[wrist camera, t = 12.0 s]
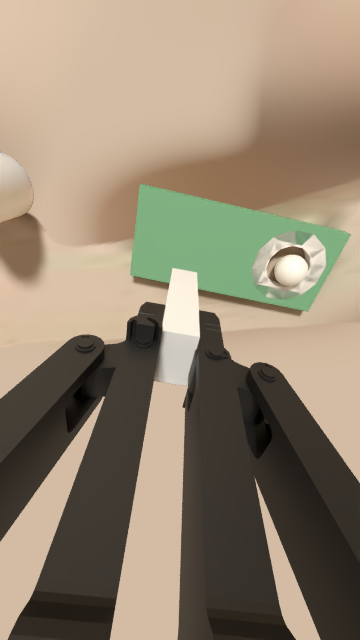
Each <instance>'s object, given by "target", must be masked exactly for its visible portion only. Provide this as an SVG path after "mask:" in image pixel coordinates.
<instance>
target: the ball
mask: <svg viewBox="0 0 360 640" xmlns="http://www.w3.org/2000/svg"><path fill="white" fill-rule="evenodd" d="M307 273H308V265H307V263H306V261H305V260H304V259H303V258H302V257H300V256H298V255H287V256H284V257H282V258H281V259H280V260H279V261H278V262H277V263H276V265H275V268H274V274H275V278H276V279H277V281H278V282H279V283H281V284H283V285H285V286H294V285H297V284H299V283H301V282H302V281H303V280H304V279H305V278H306V276H307Z"/></svg>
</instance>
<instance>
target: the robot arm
mask: <svg viewBox="0 0 360 640" xmlns="http://www.w3.org/2000/svg"><path fill="white" fill-rule="evenodd" d="M154 381H158V382H164V383H170V384H177V385H183V386H186V385H187V382H188V389H187V393H186V397H185V400H184V403H183V408H185V436H184V469H183V502H182V534H181V569H180V600H179V629H178V640H296V639H295V638H294V636H293V635H292V633H291V632H290V630H289V629H288V628H287V626H286V624H285V622H284V619H283V617H282V613H281V609H280V606H279V600H278V596H277V591H276V585H275V580H274V575H273V570H272V565H271V559H270V554H269V550H268V544H267V539H266V534H265V529H264V524H263V519H262V513H261V508H260V503H259V498H258V493H257V488H256V483H255V479H256V481H257V484H258V486H259V488H260V491H261V493H262V496H263V498H264V501H265V503H266V506H267V508H268V510H269V513H270V516H271V518H272V520H273V523H274V525H275V528H276V530H277V533H278V535H279V538H280V540H281V543H282V545H283V548H284V550H285V553H286V555H287V558H288V560H289V563H290V565H291V567H292V570H293V572H294V574H295V577H296V580H297V582H298V585H299V587H300V589H301V592H302V595H303V597H304V600H305V602H306V604H307V607H308V609H309V612H310V614H311V617H312V619H313V622H314V624H315V627H316V629H317V632H318V634H319V637H320V639H321V640H360V483H359V482H358V480H357V479H356V477H355V476H354V475H353V473H352V472H351V470H350V469H349V467H348V466H347V465H346V463H345V462H344V460H343V459H342V457H341V456H340V455H339V453H338V452H337V450H336V449H335V448H334V447H333V445H332V443H331V442H330V441H329V439H328V438H327V436H326V435H325V434H324V432H323V431H322V429H321V428H320V426H319V425H318V424H317V422H316V421H315V419H314V418H313V417H312V416H311V414H310V413H309V411H308V410H307V408H306V407H305V405H304V404H303V403H302V401H301V400H300V398H299V397H298V395H297V394H296V393H295V391H294V390H293V389H292V387H291V386H290V384H289V383H288V381H287V380H286V379H285V377H284V376H283V374H282V373H281V372H280V371H279V370H278V369H276V368H275V367H273V366H271V365H269V364H267V363H261V362H258V363H254V364H253V365H252V366H251V367H250V368H248V367H245V366H242V365H240V364H238V363H236V362H234V361H233V360H231V356H230V354H229V352H228V351H227V350H226V349H225V348H224V345H223V339H222V333H221V327H220V321H219V318H218V317H217V316H216V315H215V313H211V312H206V311H200V310H199V305H198V282H197V272H192V271H187V270H181V269H176V268H172V274H171V279H170V285H169V290H168V296H167V301H166V305H162V304H156V303H151V302H146V303H144V304H143V305H142V306H141V307H140V310H139V313H138V316H134V317H132V318H130V319H129V321H128V322H127V335H126V340H125V341H124V342H121V343H118V344H107V345H104V342H103V341H102V339H101V338H99V337H97V336H94V335H79V336H76V337H74V338H72V339H70V340H69V341H68V342H66V343H65V344H64V345H63V346H62V347H61V348H60V349H58V350H57V351H56V352H55V353H54V354H52V355H51V356H50V357H49V358H48V359H47V360H46V361H44V362H43V363H42V364H41V365H40V366H38V367H37V368H36V369H35V370H34V371H33V372H31V373H30V374H29V375H28V376H27V377H26V378H24V379H23V380H22V381H21V382H20V383H19V384H17V385H16V386H15V387H14V388H13V389H12V390H10V391H9V392H8V393H7V394H6V395H5V396H3V397H2V398H1V399H0V541H1V540H2V538H3V537H4V536H5V534H6V533H7V532H8V530H9V529H10V527H11V526H12V524H13V523H14V521H15V520H16V519H17V517H18V516H19V514H20V513H21V512H22V510H23V509H24V508H25V506H26V505H27V503H28V502H29V501H30V499H31V498H32V496H33V495H34V493H35V492H36V491H37V489H38V488H39V487H40V485H41V484H42V482H43V481H44V479H45V478H46V477H47V475H48V474H49V473H50V471H51V470H52V468H53V467H54V466H55V464H56V463H57V461H58V460H59V459H60V457H61V456H62V454H63V453H64V452H65V450H66V449H67V447H68V446H69V444H70V443H71V441H72V440H73V439H74V437H75V436H76V435H77V433H78V432H79V431H80V429H81V428H82V426H83V425H84V424H85V422H86V421H87V419H88V418H89V417H90V415H91V414H92V412H93V411H94V409H95V408H96V407H97V405H98V404H99V402H100V401H101V399H102V397H103V396H105V399H104V401H103V404H102V407H101V410H100V412H99V415H98V418H97V421H96V423H95V426H94V429H93V432H92V434H91V437H90V440H89V443H88V446H87V448H86V451H85V454H84V456H83V459H82V462H81V465H80V467H79V470H78V473H77V475H76V478H75V481H74V484H73V486H72V489H71V492H70V495H69V497H68V500H67V503H66V506H65V508H64V511H63V514H62V517H61V519H60V522H59V525H58V528H57V530H56V533H55V536H54V538H53V541H52V544H51V547H50V550H49V552H48V555H47V558H46V560H45V563H44V566H43V569H42V571H41V574H40V577H39V580H38V582H37V585H36V587H35V590H34V592H33V594H32V596H31V598H30V600H29V602H28V603H27V605H26V606H25V608H24V609H23V611H22V612H21V614H20V615H19V617H18V619H17V621H16V623H15V625H14V627H13V629H12V631H11V634H10V635H9V638H8V640H110V634H111V629H112V622H113V617H114V611H115V605H116V599H117V593H118V587H119V581H120V576H121V570H122V564H123V558H124V552H125V546H126V540H127V535H128V528H129V522H130V517H131V511H132V505H133V499H134V494H135V487H136V482H137V476H138V470H139V464H140V458H141V452H142V447H143V441H144V435H145V429H146V422H147V417H148V411H149V406H150V400H151V394H152V388H153V382H154ZM254 476H255V477H254Z"/></svg>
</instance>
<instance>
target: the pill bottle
mask: <svg viewBox="0 0 360 640" xmlns="http://www.w3.org/2000/svg"><path fill="white" fill-rule="evenodd" d="M33 197H34V195H33V188H32V184H31V181H30V179H29V177H28V175H27V174H26V172H25V171H24V169H23V168H22V167H21V165H20V164H19V163H17V162H16V161H15V160H14V159H13V158H11V157H10V156H8V155H6V154H4V153H2V152H0V222H4V221H7V220H10V219H13V218H17V217H20V216H22V215H24V214H26V213H27V212H28V211H29V209H30V208H31V206H32V203H33Z"/></svg>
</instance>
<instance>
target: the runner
mask: <svg viewBox="0 0 360 640" xmlns="http://www.w3.org/2000/svg"><path fill="white" fill-rule="evenodd" d="M135 227H136V228H135V236H134V245H133V254H132V264H131V273H130V275H132V276H137V277H141V278H146V279H151V280H156V281H161V282H166V283H170V279H171V274H172V268H176V269H181V270H187V271H192V272H197V282H198V289H200V290H205V291H210V292H215V293H220V294H225V295H230V296H235V297H239V298H244V299H249V300H254V301H259V302H264V303H269V304H274V305H279V306H284V307H288V308H293V309H298V310H303V311H308V310H309V309H310V307H311V305H312V303H313V301H314V300H315V298H316V296H317V294H318V292H319V291H320V289H321V287H322V285H323V284H324V282H325V280H326V278H327V276H328V275H329V273H330V271H331V269H332V267H333V266H334V264H335V262H336V260H337V258H338V257H339V255H340V253H341V251H342V250H343V248H344V246H345V244H346V242H347V241H348V239H349V237H350V235H351V234H349V233H346V232H344V231H341V230H337V229H332V228H328V227H324V226H320V225H315V224H311V223H307V222H303V221H298V220H294V219H290V218H286V217H281V216H277V215H273V214H268V213H264V212H260V211H256V210H251V209H247V208H243V207H238V206H234V205H230V204H226V203H222V202H217V201H213V200H209V199H204V198H200V197H196V196H192V195H187V194H183V193H179V192H174V191H170V190H166V189H162V188H158V187H153V186H149V185H144V184H141V185H140V189H139V199H138V208H137V217H136V226H135ZM290 246H295V247H299V248H302V250H303V251H304V253H305V261H306V263H307V265H308V273H307V276H306V278H305V279H304V280H303V281H302V282H301V283H299V284H297V285H294V286H285V285H283V284H281V283H279V282H277V281H272V280H270V279H269V278H268V277H267V272H266V268H267V265H268V263H269V260H270V258H271V257H272V256H273V255H274V254H275V253H277V252H278V251H279V250H280V249H283V248H287V247H290Z"/></svg>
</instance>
